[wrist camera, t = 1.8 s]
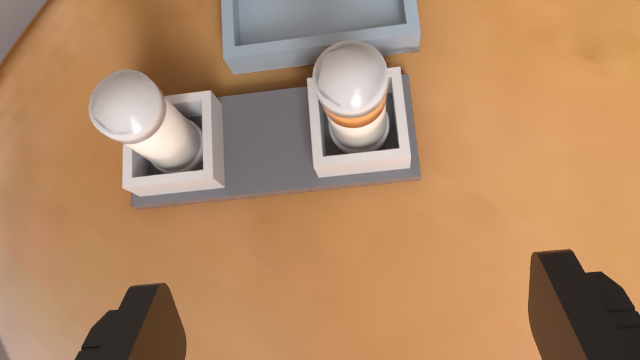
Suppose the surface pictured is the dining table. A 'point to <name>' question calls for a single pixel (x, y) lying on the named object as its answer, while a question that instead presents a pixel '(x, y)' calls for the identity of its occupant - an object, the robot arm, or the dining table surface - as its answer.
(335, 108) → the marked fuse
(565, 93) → the dining table surface
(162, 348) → the robot arm
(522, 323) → the dining table surface
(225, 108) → the fuse holder
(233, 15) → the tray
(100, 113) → the fuse
